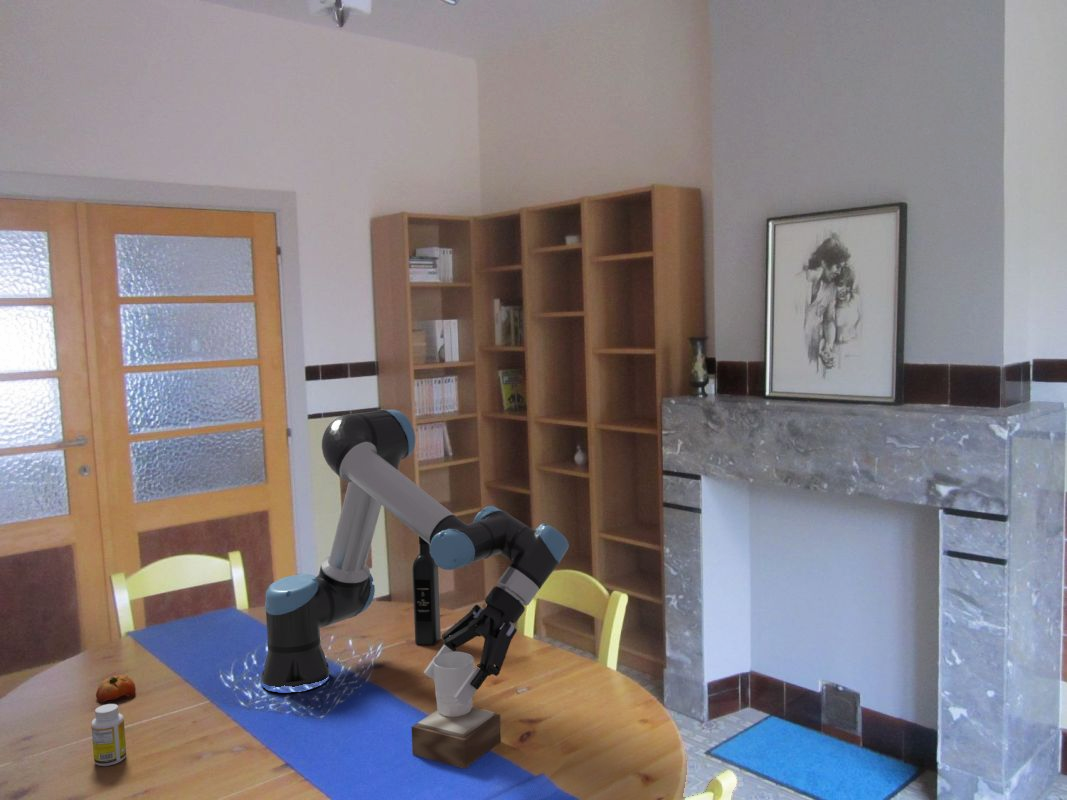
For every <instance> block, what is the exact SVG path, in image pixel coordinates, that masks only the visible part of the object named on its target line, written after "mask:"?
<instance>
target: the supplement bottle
mask: <svg viewBox="0 0 1067 800" xmlns="http://www.w3.org/2000/svg"><path fill="white" fill-rule="evenodd" d="M94 717H95V718H93V720H92V721H91V722H90V723H91V724H90V725H91V737H92V740H91V741H92V751H93V762H94V763H95V765H97V766H99V767H109V766H113V765H116V764H118V763H121V762H123V761H124V759H126V757H127V745H126V744H127V742H126V741H127V740H126V732H125V731H126V730H125V717H124V715H123V714H121V713H120V710H119V705H117V704H116V703H107V704H103V705H99V706H98V707H96V708H95V711H94Z"/></svg>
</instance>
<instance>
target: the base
mask: <svg viewBox="0 0 1067 800" xmlns="http://www.w3.org/2000/svg"><path fill="white" fill-rule="evenodd" d="M501 735H502V734H501V714H500V713H495V712H494V711H491V710H486V709H483V708H478V707H473V706H472V709H471V711H470V712H469V713H467V714H466V715H463V716H459V717H448V716H444V715H442V714H440V713H439V712H438V710H437V709H436V710H435V711H433V712H432V713H430V714H429V715H427V716H426V717H424V718H422V719H421V720H419V721H418V722H417V723H415V724H414V725H412V726H411V742H412V743H411V747H412V748H411V749H412V755H414V756H416V757H419V758H420V757H421V758H424V759H427V760H431V761H435V762H438V763H442V764H445V765H449V766H453V767H457V768H460V769H465V770H466V769H467V768H468V767H470V766H471V765H472V764H474V763H475V762H477V760H479V759H480V758H482V757H483V756H485V754H487V753H488V752H489V751H490V750H492V749H493V748H494V747H496V746H497V745H498V744H499V743H501V742H502V740H501V739H502V738H501V737H502V736H501Z"/></svg>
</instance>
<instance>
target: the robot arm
mask: <svg viewBox="0 0 1067 800" xmlns="http://www.w3.org/2000/svg"><path fill="white" fill-rule="evenodd" d="M415 446H416V433H415V429H414V428H413V426H412V422H411V421H410V420H409V418H408V416H406V415H405V414H404V413H403V412H401V411H399V410H396V409H383V408H382V409H378V410H375V411H374V410H373V411H367V412H366V411H365V412H358V413H349V414H347V413H346V414H344V415H343V414H342V415H341V416H339V417H337V418H335V419H333V420H332V421H331V422H330V423H329V424H328V426H327V427H326V428H325V430H324V433H323V435H322V439H321V450H322V455H323V458H324V460H325V462H326V464H327V465H328V467H329V468H330V469H331V470H332V472H334V473H335V474H336V475H337V476H338V477H339V478H341V479H342V481H344V482H347V488H346V492H345V495H344V499H343V502H342V507H341V512H340V514H339V519H338V523H337V527H336V532H335V535H334V539H333V543H332V547H331V552H330V555H329V556H327V557H325V558H324V559H323V560H322V561H321V564H320V569H319V572H318V574H317V576H315V575H314V574H310V573H298V574H297V573H296V574H294V575H288V576H285V577H282V578H280V579H277V580H275V581H273V582H272V583H271V584H269V586H268V587H267V589H266V590H265V591H266V592H265V603H264V609H265V620H266V621H265V622H266V633H267V634H266V635H267V636H266V637H267V654H266V659H265V661H264V667H263V670H262V671H261V683H262V682H263V683H264V684H266V685H268V686H275V687H281V686H284V685H285V686H292V687H295V686H299V685H303V684H311V683H315V682H319V681H322V680H324V679H326V678H327V677H328V676H329V674H330V675H331V669H330V664H329V663H328V662H327V658H326V656H325V652H324V650H323V648H322V645H321V629H322V628H324V627H327V626H330V625H333V624H336V623H339V622H341V621H345V620H347V619H351V618H354V617H356V616H358V615H360V614H361V613H363V612H365V611H366V610H367V609H368V608H369V607H370V606H371V605H372V602H373V600H374V597H375V590H376V589H375V584H373V582H374V577H373V575H372V573H371V571H370V568H369V566H368V565H367V561H368V556H369V553H370V550H371V546H372V542H373V538H374V535H375V531H376V527H377V523H378V519H379V515H380V512H381V508H382V507H384V508H385V509H386V510H387V511H388V512H390V513H391V514H392V515H393V516H395V517H396V518H397V519H398V520H400V521H401V522H402V523H403V524H404V525H405V526H407V527H408V528H409V530H411V531H413V533H415V534H416V535H417V536H418V537H419V536H420V537H421V538H422V539H424V540H425V541H426V542H427V543H428V544H430V554H431V557H433V559H434V562H435V564H436V565H437V566H438V568H440V569H442V570H445V571H452V570H458V569H461V568H465V567H467V566H469V565H471V564H474V563H476V562H478V561H482V560H485V559H488V558H491V557H494V556H497V555H499V554H500V555H502V556H503V557H505V558H507V559H509V560H510V561H511V564H509V566H508V567H507V568H506V570H505V571H504V572H503V574H501V577H499V579H498V580H497V585H498V586H493V587H492V589H491V590H490V592H489V593H488V595H486V597H485V598H484V601H485V602H484V603H485V604H486V606H485V608H482V607H481V606H480V605H478V604H475V605H474V606H473V607H472V608H471V610H470V611H469V612H468V613H467V614H465V615H464V616H463V617H462V618H461V619H459V620H458V621H457V622H455V624H453V625H452V626H451V627H449V628H448V629H447V630H446V631H445V632H444V633H442V635H441V639H442V641H443V644H442V646H441V647H440V649H439V650H438V652H437V653H436V654H435V655H434V657H433V659H434V658H435V657H436V656H438V655H440V654H442V653H446V652H453V651H457V648H459V647H461V646H462V645H464V644H466V643H469V641H471V640H473V639H475V638H476V637H483V638H484V641H483V642H484V643H483V646H482V651H481V658H480V663H478V664H476V666H474V669H473V671H472V672H471V674H470V675H469V676H468V678H467V679H466V681H465V682H464V683H463V685H462V686H461V687H460V689H459V690H458V692H457V693H456V694H455V696H454V697H455V698H457V699H458V700H459V701H460V702H462V703H463V704H464V705H465V706H466V704H467V703H468V702H469V700H470V699H471V697H472V698H473V697H474V695H475V693H476V692H477V691H478V690H479V689H480V687H481V686H482V685H483V683H484V682H485V680H486V679H487V678H488V677H489V676H492V675H493V676H495V677H498V676H499V674H500V672H501V670H502V667H503V664H504V662H505V659H506V655H507V653H508V650H509V647H510V645H511V643H512V642H511V641H513V640H512V639H513V638H514V637H515V634H516V633H517V631H518V630H517V628H516V627H515V626H513V625H512V624H516V623H517V622H518V621H519V619H520V618H521V617H522V615H523V614H524V612H525V611H526V610H525V609H526V607H525V606H529V605H530V603H531V602H532V601H533V600H534V598H535V597H536V594H537V593H538V592H539V591H540V590H541V588H542V587H543V585H544V584H545V583H546V581H547V580H548V579H549V577H550V576H551V574H552V573H553V571H554V570H555V569H556V568H557V567H558V565H559V564H560V563H561V561H562V559H563V557H564V556H565V554H566V553H567V551H568V549H569V547H570V545H569V541H568V540H567V538H566V537H565V535H563V533H561V532H560V531H559V530H558V529H556V528H555V527H553V526H551V525H549V524H546V523H541V524H539V525H538V526H537V527H536V529H534V528H532V527H529V526H528V525H526V524H525V523H523V522H521V521H520V520H518V519H517V518H516V517H514V516H512V515H510V514H509V513H508V512H507V511H505V510H502V509H500V508H498V507H496V506H493V505H489V506H485V507H484V508H483V509H482V510H481V511H479V512H477V514H476V515H475V516H474V519H473V521H472V522H470V523H466V522H464V520H462V519H460V518H459V517H458V516H457V515H455V514H454V513H453V512H451V511H450V510H449V509H448V508H446V507H445V506H444V505H442V504H441V503H440V502H439V501H437V500H436V499H435V498H434V497H433V496H431V495H430V494H429V493H428V492H426V490H424V489H422V488H421V487H419V485H417V484H416V483H415V482H414V481H413V480H411V479H410V478H409V477H407V476H406V475H405V474H404V473H402V472H401V471H400V470H398V469H399V467H400V463H401V460H405V459H407V458H408V457H409V456H411V455H412V453H413V452H414V449H415ZM433 659H432V660H431V662H430V663H429V664H428V666H427V667H426V668H425V669H424V671H423V673H424V674H425V675H426V676H428V678H430V679H431V680H433V681H434V668H433Z"/></svg>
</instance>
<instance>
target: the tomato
mask: <svg viewBox="0 0 1067 800" xmlns="http://www.w3.org/2000/svg"><path fill="white" fill-rule="evenodd" d="M136 692H137V691H136V684H135V682H134V681H133V680H132V679H131V678H130V677H129V676H128V675H120V674H118V675H111V676H110V677H107V678H106V679H104V680H103V681H102V682H101V683H99V686H98V687H97V689H96V694H95V697H96V700H97V702H98V703H103V702H106V701H108V700H116V699H118V698H120V697H122V696H127V700H130V699H131V698H132V697H134V696H135V695H136Z"/></svg>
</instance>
